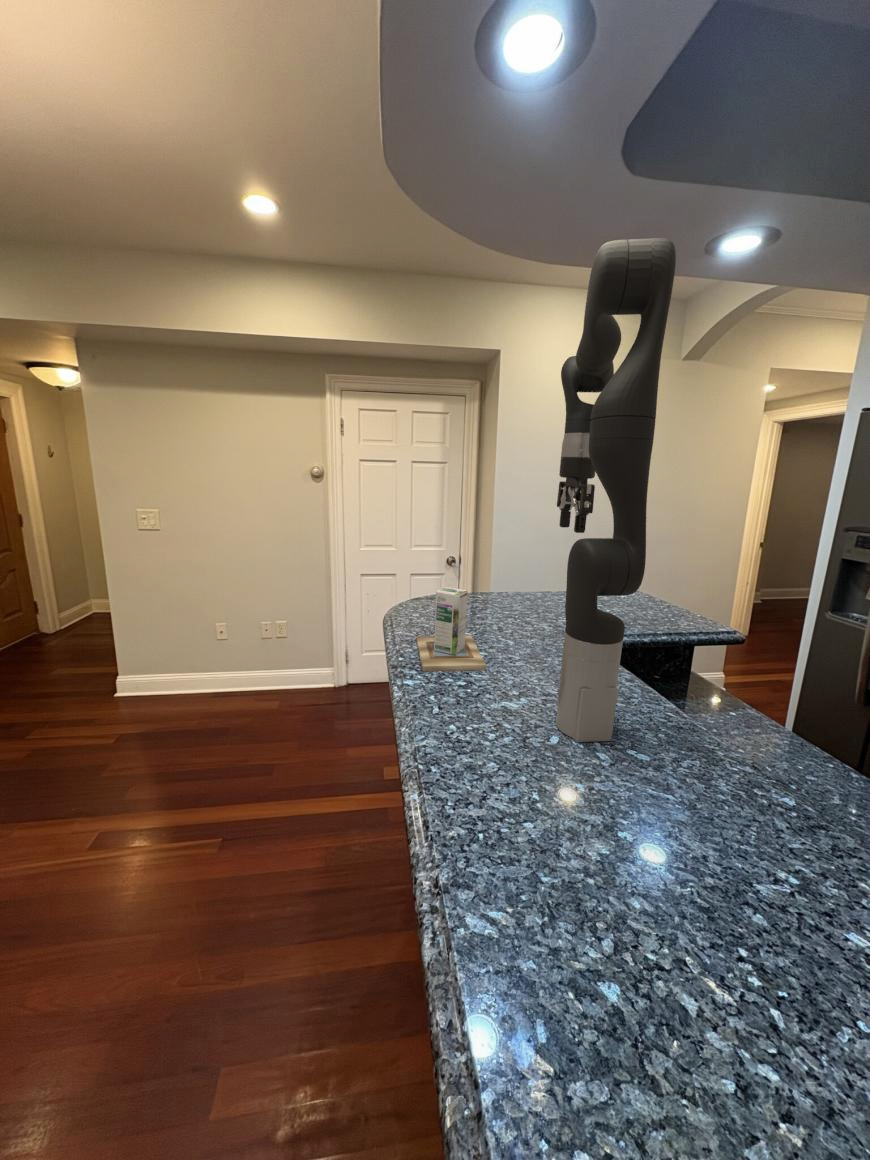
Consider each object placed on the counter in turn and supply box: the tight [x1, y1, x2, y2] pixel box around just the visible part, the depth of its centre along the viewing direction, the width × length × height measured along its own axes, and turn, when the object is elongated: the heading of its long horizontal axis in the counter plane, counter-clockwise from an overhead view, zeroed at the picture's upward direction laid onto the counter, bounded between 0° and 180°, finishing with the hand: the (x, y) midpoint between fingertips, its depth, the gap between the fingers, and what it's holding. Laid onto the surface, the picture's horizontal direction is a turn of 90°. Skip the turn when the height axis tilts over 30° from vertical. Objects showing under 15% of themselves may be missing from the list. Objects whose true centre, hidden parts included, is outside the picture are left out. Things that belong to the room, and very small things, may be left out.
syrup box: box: [434, 586, 468, 655], centre depth 111 cm, size 6×6×14 cm
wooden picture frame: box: [415, 635, 487, 672], centre depth 113 cm, size 18×14×1 cm
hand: (571, 529), depth 108 cm, fingers open, 8 cm apart
